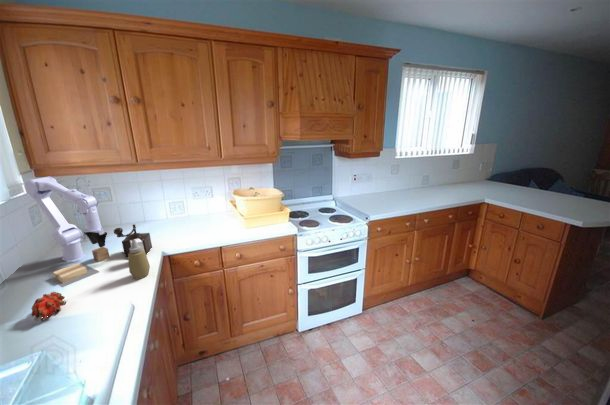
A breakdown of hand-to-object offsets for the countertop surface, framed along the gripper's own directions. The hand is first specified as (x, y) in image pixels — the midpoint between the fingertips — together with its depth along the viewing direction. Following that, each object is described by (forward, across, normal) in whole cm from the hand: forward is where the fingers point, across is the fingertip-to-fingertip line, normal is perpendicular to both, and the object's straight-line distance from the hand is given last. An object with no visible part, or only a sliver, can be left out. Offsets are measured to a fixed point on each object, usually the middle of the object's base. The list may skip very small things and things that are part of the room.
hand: (98, 245), depth 133 cm
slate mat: (+8, +5, -14) cm, 17 cm away
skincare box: (+9, +21, +8) cm, 24 cm away
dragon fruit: (+9, +31, -30) cm, 44 cm away
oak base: (+8, +6, -15) cm, 18 cm away
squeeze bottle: (+9, +34, +1) cm, 35 cm away
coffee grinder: (+9, +10, +12) cm, 18 cm away
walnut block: (+9, 0, 0) cm, 9 cm away
